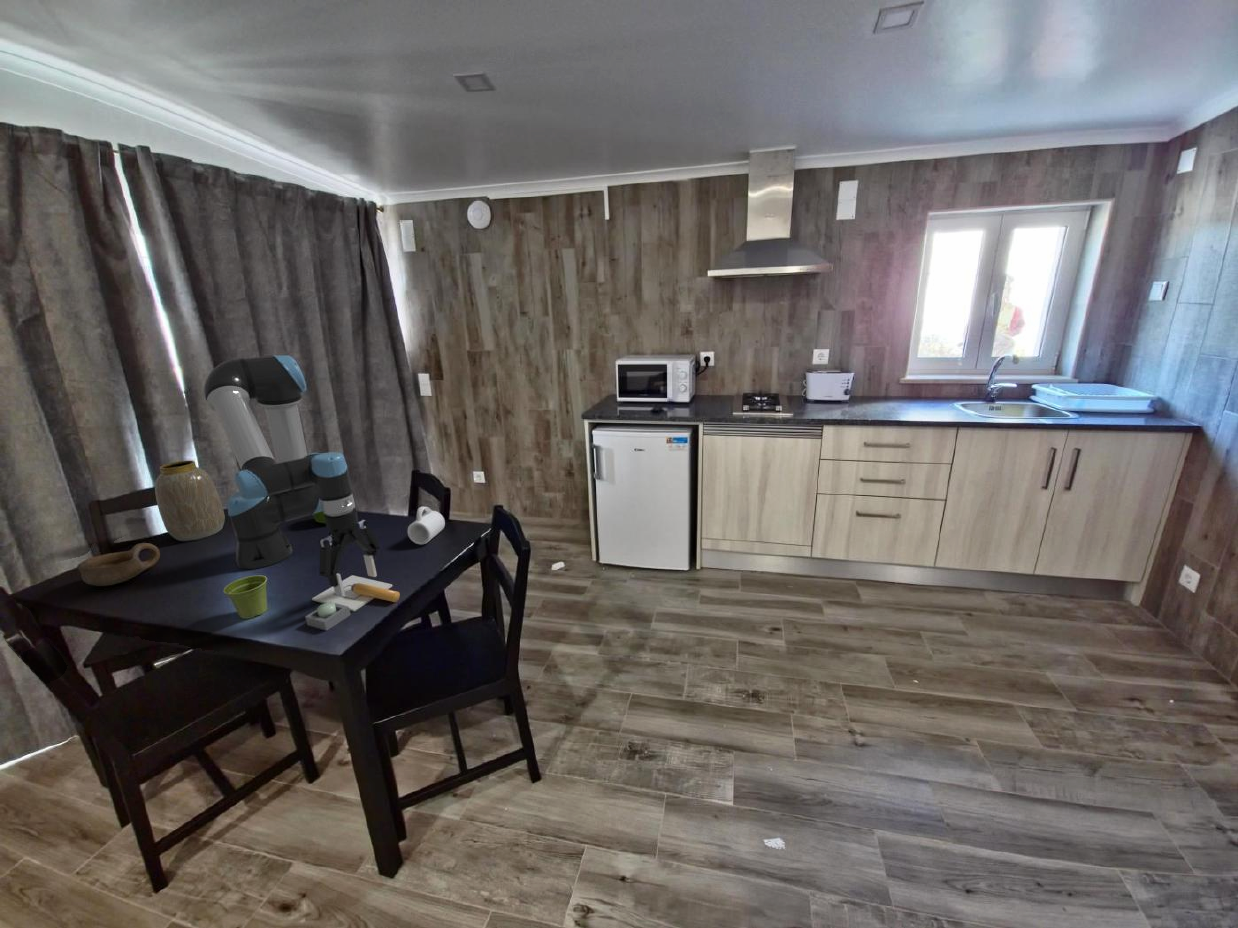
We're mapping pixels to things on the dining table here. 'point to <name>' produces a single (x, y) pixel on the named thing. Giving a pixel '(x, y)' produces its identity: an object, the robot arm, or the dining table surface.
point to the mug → (425, 526)
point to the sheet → (350, 593)
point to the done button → (326, 610)
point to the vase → (188, 501)
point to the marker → (375, 592)
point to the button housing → (329, 622)
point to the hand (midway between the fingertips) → (356, 585)
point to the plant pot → (248, 595)
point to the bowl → (117, 566)
